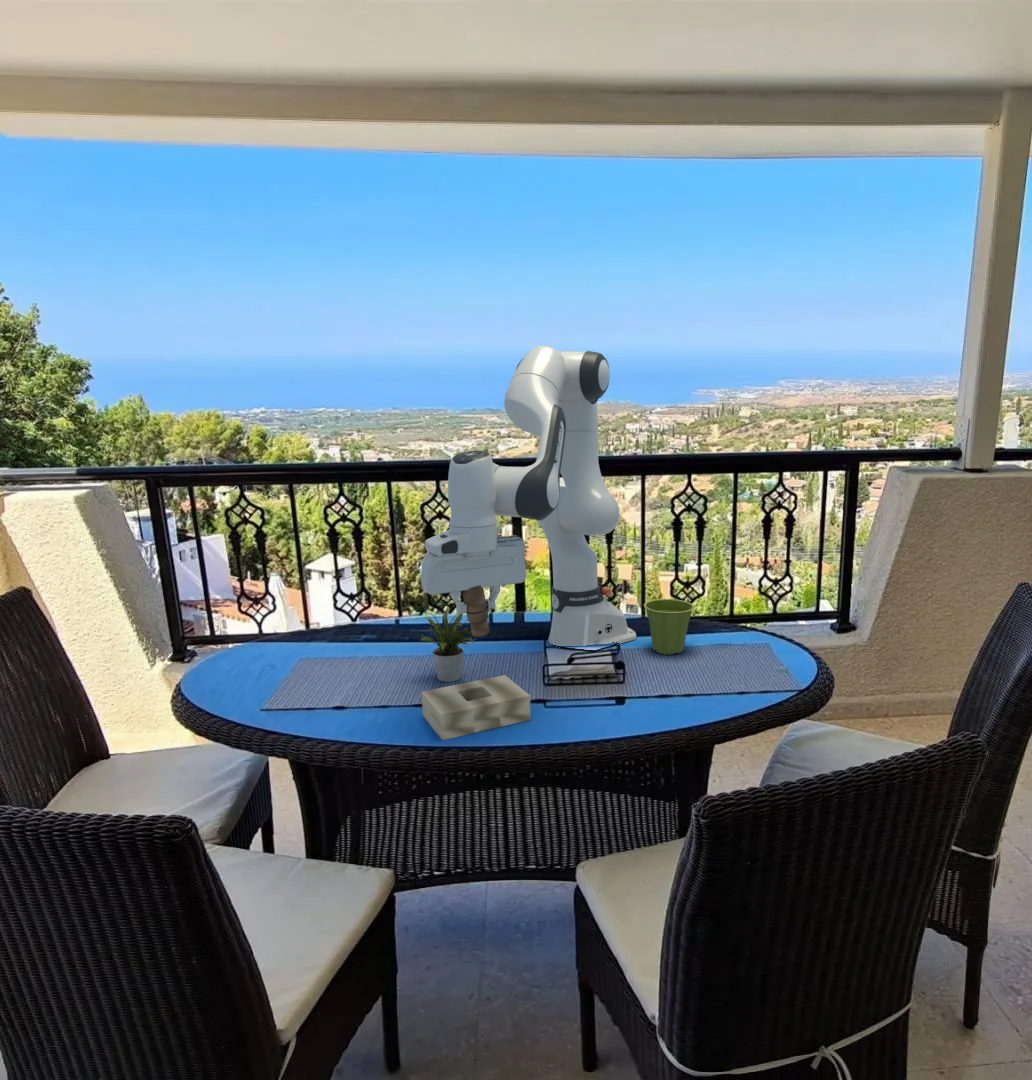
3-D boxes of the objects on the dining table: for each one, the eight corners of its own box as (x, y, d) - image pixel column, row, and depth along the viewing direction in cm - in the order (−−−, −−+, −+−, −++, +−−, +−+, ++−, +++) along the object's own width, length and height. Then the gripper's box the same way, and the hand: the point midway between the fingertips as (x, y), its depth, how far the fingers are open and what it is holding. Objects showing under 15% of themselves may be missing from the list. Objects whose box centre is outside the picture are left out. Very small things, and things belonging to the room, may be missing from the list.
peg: (486, 625, 143) (477, 578, 140) (495, 632, 139) (486, 584, 136) (466, 632, 141) (457, 585, 138) (475, 639, 137) (465, 591, 134)
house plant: (417, 695, 154) (412, 621, 151) (408, 672, 168) (404, 604, 164) (482, 686, 158) (479, 613, 155) (469, 664, 171) (466, 597, 168)
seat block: (505, 697, 152) (505, 675, 151) (530, 719, 141) (529, 695, 140) (422, 715, 145) (421, 691, 144) (442, 740, 134) (440, 714, 133)
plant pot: (698, 658, 170) (699, 611, 168) (647, 659, 171) (647, 613, 168) (688, 641, 182) (688, 597, 180) (640, 642, 182) (640, 599, 180)
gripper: (517, 531, 143) (518, 599, 145) (416, 541, 135) (420, 613, 137) (531, 536, 137) (532, 607, 140) (427, 547, 129) (430, 622, 132)
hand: (476, 610), depth 138 cm, fingers closed on peg, 4 cm apart
